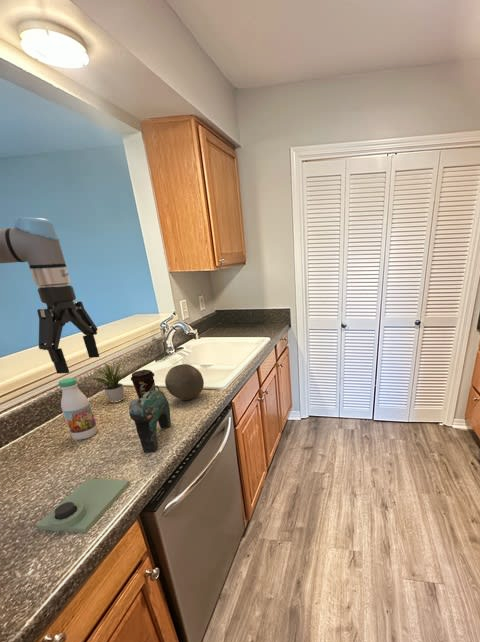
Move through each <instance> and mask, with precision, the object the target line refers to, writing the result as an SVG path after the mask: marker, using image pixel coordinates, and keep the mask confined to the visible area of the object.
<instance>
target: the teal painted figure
mask: <svg viewBox="0 0 480 642" xmlns="http://www.w3.org/2000/svg"><path fill="white" fill-rule="evenodd" d="M143 385H145V386H146V384H142V385H141V387H140V392H141V391H142V386H143ZM153 388H155V389H156V388H157V389H156V390H155V391H152V389H153ZM141 396H142V398H141V399H139V398H135V399H132V400H131V401H130V403H129V406H128V413H129V417H130V419H131V420H132V421H133V422H134V425H135V428H136V433H137V436H138V439H139V441H140V446H141V448H142V451H143V453H145V454H146V453H156V452H157V450H158V448H159V443H158V436H157V435H158V434H157V433H158V432H157V431H158V430H157V426H158V425H159V428H160V429H161V428H162V429H169V428H171V425H172V420H171V407H170V404H169V400H168V398H167V396H166V395H165V394H164V392H163V391H162V390H160V388H159V386H158V385H155V386H153V387H152V388H151V389H150V391H148V392H147V393H145V394H144V395H142V392H141Z"/></svg>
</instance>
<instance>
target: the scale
mask: <svg viewBox="0 0 480 642" xmlns="http://www.w3.org/2000/svg"><path fill="white" fill-rule="evenodd" d="M130 485H131V481H130V480H129V479H109V478H86V479H85V480H84V481H83V482H82V483H81V484H79V485H78V486H77V487H76V488H75V489H74V490H73V491H72V492H71V493H69V494H68V495H67V497H65V498H64V499H63V500H62V501H61V502H60V503H59V504H57V506H55V507H54V508H53V509H52V510H51V511H50V512H49V513H48V514H47V515H46V516H44V518H42V519H41V520H40V521H39V522H37V524H35V527H36V529H37V530H38V531H51V532H52V531H54V532H67V533H68V532H69V533H83V534H84V533H85V534H87V533H88V532H89V530H90V529H92V528H93V526H94V525H95V524H96V523H97V522H98V521H99V520H100V518H101V517H102V516H104V514H105V513H106V512H107V511H108V509H109V508H110V507H111V506H112V505H113V504H114V503H115V502H116V500H117V499H118V498H119V497H121V495H122V494H123V493H124V491H125V490H126V489H127V488H128V487H129V486H130ZM67 502H72V503H74V506H75V508H76V512H75V513H74V514H73V515H71V516H70V517H68V518H65V519H62V520H59V519H57V517H56V514H55V509H56V508H57V507H58V506H60V505H61V504H63V503H67Z"/></svg>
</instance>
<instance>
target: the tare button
mask: <svg viewBox="0 0 480 642" xmlns="http://www.w3.org/2000/svg"><path fill="white" fill-rule="evenodd" d="M57 506H58V505H57ZM57 506H56V507H57ZM56 507H55V508H56ZM55 508H54V509H55ZM75 512H76V508H75V506H74V503H72V502H67V503H63V504H61V505H60V506H58V507H57V508H56V509H55V514H56V517H57V519H59V520H62V519H65V518H68V517H70V516H71V515H73V514H74V513H75Z"/></svg>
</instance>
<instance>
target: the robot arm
mask: <svg viewBox="0 0 480 642" xmlns="http://www.w3.org/2000/svg"><path fill="white" fill-rule="evenodd" d="M13 223H14V227H11V228H10V227H8V228H0V264H11V263H13V264H14V263H27V264H28V267H29V269H30V270H29V271H30V272H31V276H32V279H33V282H34V285H35V286H37V287H38V288H37V292H38V296H39V299H40V301H41V303H42V304H45V305H46V308H38V309H37V311H36V312H37V316H38V349H39V350H43V351H47V352H48V354H49V357H50V360H51V362H52V363H53V366H54V368H55V371H56V374H60V375H61V374H69V373H70V370H69V367H68V363H67V360H66V357H65V355H64V351H63V349H62V347H60V346H59V345H60V341H61V336H62V332H63V327H65V326H66V324H68V323H72V324H73V325H74V326H75V327H76V328H77V329H78V330H79V331H80V332H81V333H82V334H83V335H82V339H83V342H84V346H85V349H86V352H87V355H88V358H89V359H90V358H100V357H101V356H100V353H99V350H98V346H97V342H96V338H95V336H96V335H98V327H97V326H96V324H95V323H94V321H93V319H92V317H91V316H90V315H89V313H88V312H87V311H86V309H85V307H84V304H83V302H82V301H81V300H79V301H76V299H77V296H76V293H75V290H74V289H75V288H74V287H73V286H72V285H70V284H71V283H72V281H71V277H70V273H69V271H68V268H67V264H66V260H65V258H64V254H63V249H62V247H61V243H60V239H59V237H58V234H57V231H56V229H55V226H54V224H53V222H52V221H51V220H49V219H48V218H43V217H17V218H15V219H14V220H13Z"/></svg>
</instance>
